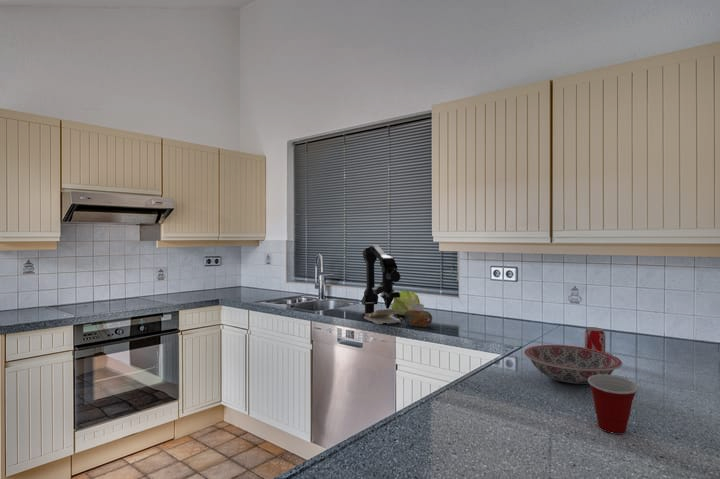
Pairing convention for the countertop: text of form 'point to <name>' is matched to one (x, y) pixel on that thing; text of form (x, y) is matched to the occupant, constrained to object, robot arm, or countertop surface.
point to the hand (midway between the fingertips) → (387, 308)
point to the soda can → (595, 339)
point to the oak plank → (383, 312)
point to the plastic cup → (612, 401)
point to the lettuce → (405, 302)
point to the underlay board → (381, 319)
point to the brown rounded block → (418, 318)
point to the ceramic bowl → (571, 362)
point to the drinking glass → (418, 307)
